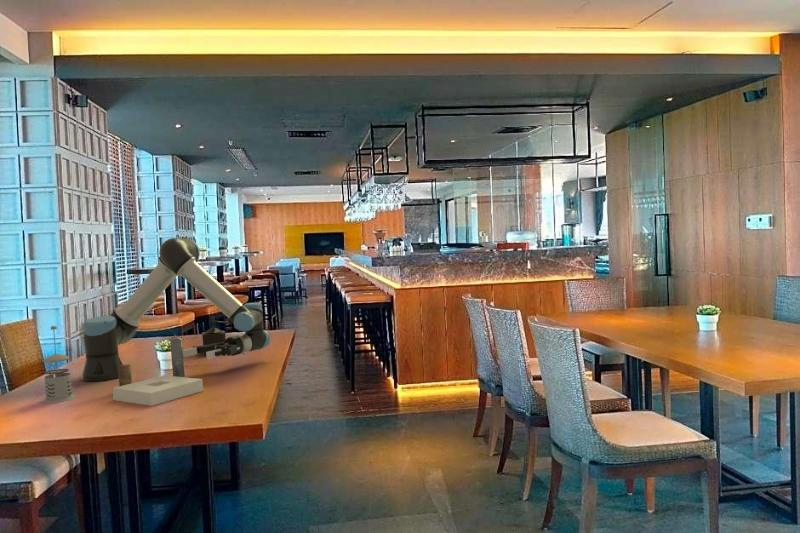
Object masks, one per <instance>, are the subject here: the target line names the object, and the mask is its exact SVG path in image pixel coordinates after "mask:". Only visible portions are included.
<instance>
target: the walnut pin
mask: <svg viewBox="0 0 800 533" xmlns="http://www.w3.org/2000/svg"><path fill="white" fill-rule="evenodd" d="M131 368H132V366H131V364H123V365H120V366H118V373H119V378H118V383H119V386H123V385H127V384H131V383H133V381H132V369H131ZM119 386H118V387H119Z"/></svg>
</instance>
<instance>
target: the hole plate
mask: <svg viewBox="0 0 800 533" xmlns="http://www.w3.org/2000/svg"><path fill="white" fill-rule="evenodd" d="M203 384H204V383H203V379H202V378H193V377H186V376H185V377H176V376H173V375H165V374H164V375H159V376H156V377H152V378H148V379H144V380H141V381H136V382H132V383H131V384H127V385H123V386H116V387H113V388H112V397H113V401H117V402H124V403H131V404H137V405H143V406H150V407H151V406H152V407H153V406H156V405H159V404H163V403H167V402H171V401H174V400H177V399H180V398H184V397H186V396H191V395H195V394H197V393H201V392H203V391H204V386H203Z"/></svg>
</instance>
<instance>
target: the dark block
mask: <svg viewBox="0 0 800 533" xmlns="http://www.w3.org/2000/svg"><path fill="white" fill-rule="evenodd" d="M210 319H211V321H210V322H211V328H210V329H208V330H206V331H205V332H204V331H203V332H201V346H202V345H210V344H215V343H217V344H219V343H223V342H225V340H226V339H227V338H226V331H225V330H221V329H219V328H217V327H215V324H225V325H232V324H234V323H233V322H232V321H231V320H230V319H229V318H228V317H227V321H219V320H215V317H214V316H211V318H210ZM202 355H203V356H206V353H202Z"/></svg>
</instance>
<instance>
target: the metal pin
mask: <svg viewBox="0 0 800 533" xmlns="http://www.w3.org/2000/svg"><path fill="white" fill-rule="evenodd" d="M169 340H170V341H169V342H170V344H169V345H170V356H171V367H172V368H171V369H172V370H171V371H172V376H176V377H186V376H185V363H184V362H185V361H184V358H183V350H184V348H183V339H182V337H177V338H175V337H174V338H170V339H169Z"/></svg>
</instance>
